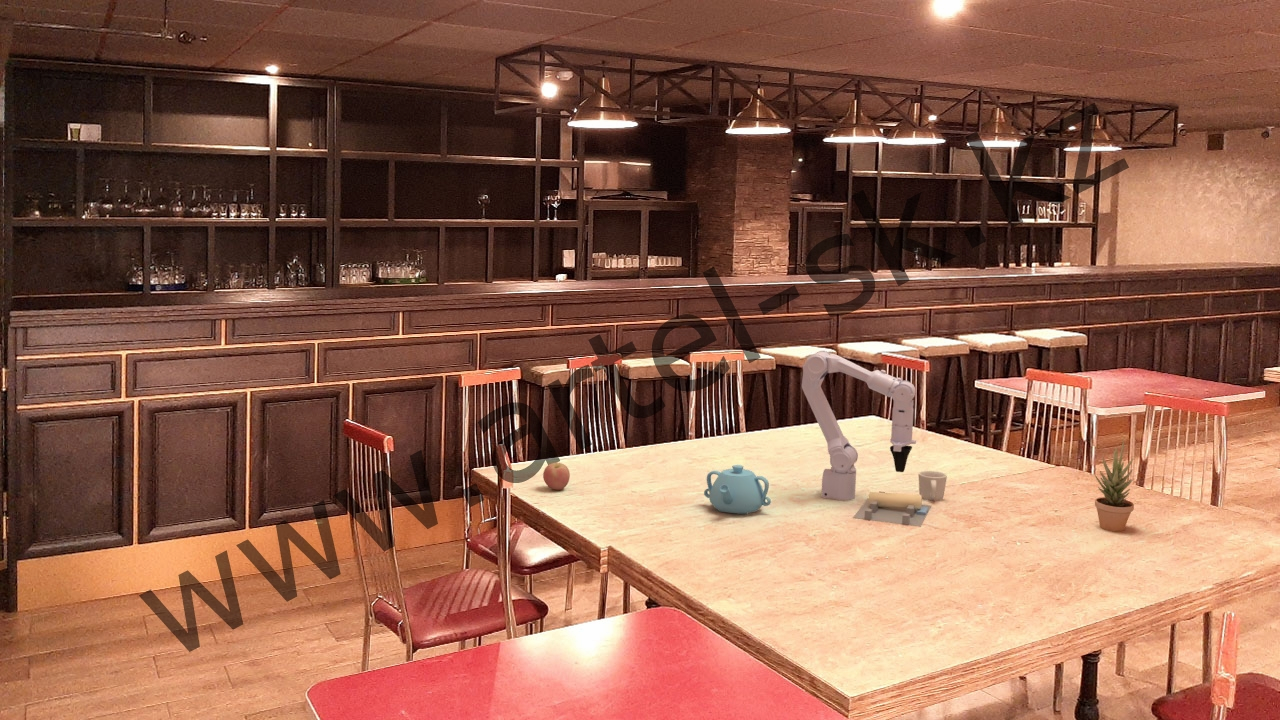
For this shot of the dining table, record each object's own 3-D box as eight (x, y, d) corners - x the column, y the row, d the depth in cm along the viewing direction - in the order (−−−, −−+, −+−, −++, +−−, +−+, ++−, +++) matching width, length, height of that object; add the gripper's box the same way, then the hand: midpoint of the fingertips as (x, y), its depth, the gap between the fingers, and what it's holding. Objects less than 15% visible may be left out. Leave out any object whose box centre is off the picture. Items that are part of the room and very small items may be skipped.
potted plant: (1115, 535, 270) (1123, 443, 266) (1085, 525, 278) (1092, 436, 275) (1141, 530, 274) (1148, 439, 271) (1110, 521, 283) (1117, 433, 279)
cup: (947, 507, 293) (948, 480, 292) (918, 505, 295) (920, 478, 294) (944, 498, 304) (945, 471, 303) (916, 496, 305) (917, 469, 304)
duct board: (852, 521, 279) (852, 509, 278) (867, 501, 299) (868, 490, 298) (920, 530, 272) (921, 517, 271) (931, 509, 292) (932, 497, 291)
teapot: (778, 507, 291) (780, 463, 289) (756, 526, 273) (757, 479, 271) (713, 498, 299) (714, 456, 298) (687, 516, 281) (688, 471, 280)
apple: (538, 491, 305) (538, 464, 303) (550, 485, 312) (550, 459, 310) (562, 494, 302) (562, 467, 301) (574, 488, 309) (574, 462, 308)
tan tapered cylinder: (868, 507, 288) (868, 493, 288) (871, 504, 292) (871, 490, 292) (919, 510, 283) (919, 496, 283) (921, 507, 287) (921, 493, 286)
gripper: (912, 430, 282) (910, 478, 284) (920, 421, 295) (918, 467, 297) (886, 428, 285) (884, 475, 286) (895, 419, 298) (893, 464, 300)
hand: (899, 471), depth 292 cm, fingers closed
